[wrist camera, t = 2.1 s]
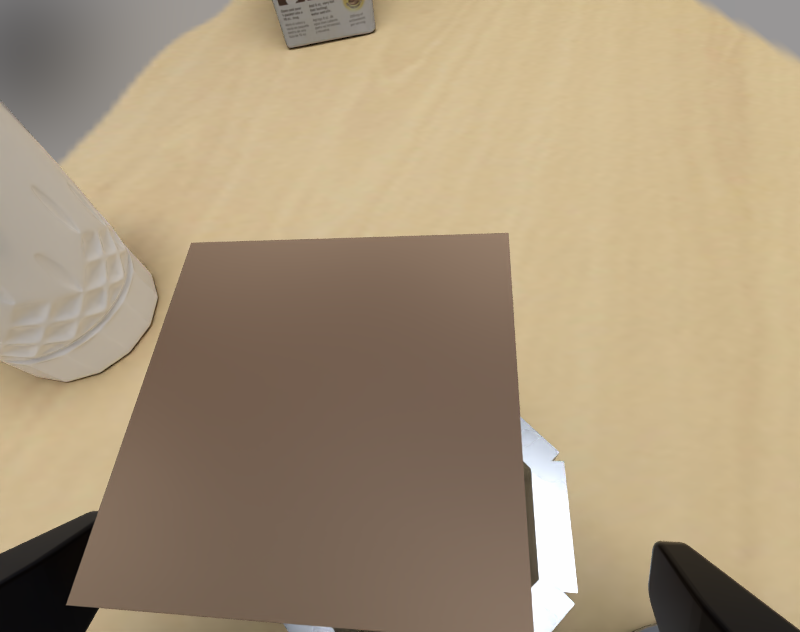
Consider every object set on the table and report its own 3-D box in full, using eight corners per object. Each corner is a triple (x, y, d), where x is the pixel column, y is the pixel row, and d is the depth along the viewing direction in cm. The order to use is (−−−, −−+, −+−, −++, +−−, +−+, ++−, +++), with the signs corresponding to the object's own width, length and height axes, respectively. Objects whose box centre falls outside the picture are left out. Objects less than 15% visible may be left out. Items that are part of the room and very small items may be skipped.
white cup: (171, 235, 25) (15, 49, 16) (170, 367, 21) (-36, 213, 12) (24, 275, 25) (-211, 110, 16) (-4, 416, 21) (-336, 295, 12)
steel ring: (572, 707, 14) (592, 729, 12) (267, 676, 15) (233, 690, 13) (544, 400, 18) (554, 374, 16) (311, 396, 19) (292, 372, 17)
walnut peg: (485, 603, 15) (536, 645, 4) (350, 593, 16) (66, 604, 5) (482, 462, 17) (508, 233, 6) (363, 458, 18) (191, 242, 7)
